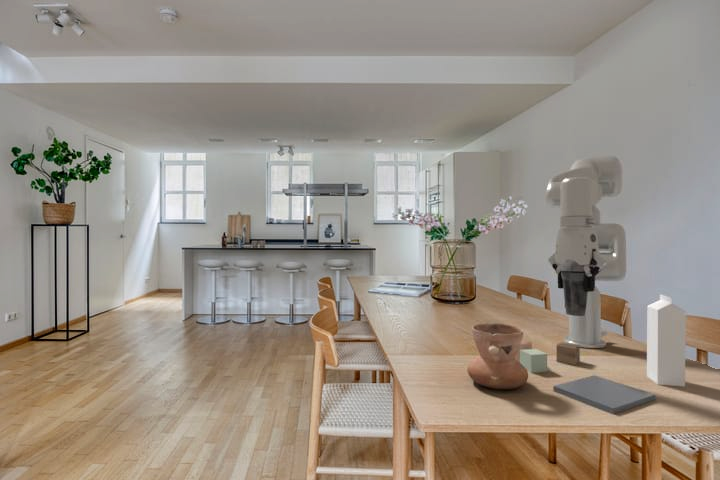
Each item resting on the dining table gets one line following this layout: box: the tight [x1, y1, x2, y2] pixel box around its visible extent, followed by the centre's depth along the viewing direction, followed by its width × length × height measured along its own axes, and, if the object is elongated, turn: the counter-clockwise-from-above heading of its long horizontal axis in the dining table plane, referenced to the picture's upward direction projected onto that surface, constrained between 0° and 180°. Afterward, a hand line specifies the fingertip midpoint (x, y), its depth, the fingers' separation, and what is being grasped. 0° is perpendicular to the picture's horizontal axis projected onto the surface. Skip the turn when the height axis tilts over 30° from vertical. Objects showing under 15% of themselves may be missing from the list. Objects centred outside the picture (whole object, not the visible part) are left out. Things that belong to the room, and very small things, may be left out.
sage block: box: [520, 348, 548, 374], centre depth 111 cm, size 5×5×5 cm
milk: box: [646, 293, 687, 388], centre depth 101 cm, size 6×6×22 cm
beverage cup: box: [560, 260, 588, 316], centre depth 107 cm, size 7×7×20 cm
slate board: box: [552, 375, 656, 415], centre depth 93 cm, size 16×14×1 cm
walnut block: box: [555, 341, 581, 366], centre depth 118 cm, size 5×5×5 cm
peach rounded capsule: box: [514, 339, 533, 363], centre depth 117 cm, size 6×6×6 cm
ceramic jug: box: [466, 322, 529, 390], centre depth 100 cm, size 18×14×14 cm
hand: (575, 289), depth 107 cm, fingers closed on beverage cup, 7 cm apart
